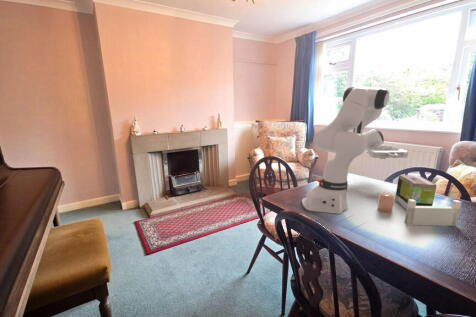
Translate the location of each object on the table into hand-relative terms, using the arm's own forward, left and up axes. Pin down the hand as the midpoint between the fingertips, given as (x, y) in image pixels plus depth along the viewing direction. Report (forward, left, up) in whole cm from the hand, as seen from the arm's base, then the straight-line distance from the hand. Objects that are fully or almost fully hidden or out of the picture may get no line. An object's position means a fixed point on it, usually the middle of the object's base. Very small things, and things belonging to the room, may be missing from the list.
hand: (395, 156), depth 130 cm
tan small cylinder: (-16, -24, -22) cm, 36 cm away
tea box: (0, -19, -22) cm, 29 cm away
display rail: (-4, -37, -22) cm, 43 cm away
